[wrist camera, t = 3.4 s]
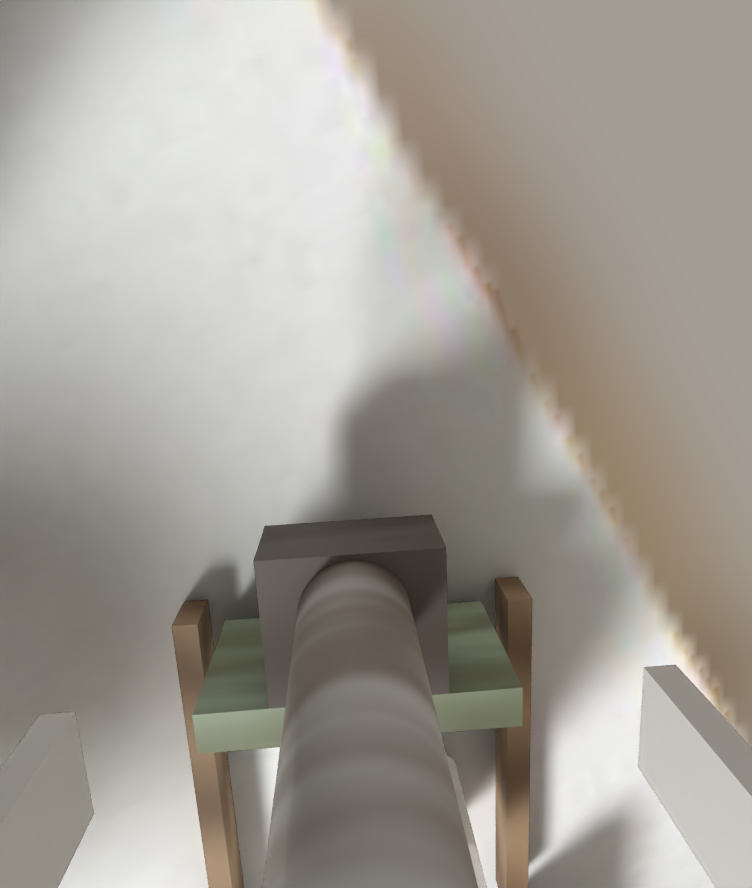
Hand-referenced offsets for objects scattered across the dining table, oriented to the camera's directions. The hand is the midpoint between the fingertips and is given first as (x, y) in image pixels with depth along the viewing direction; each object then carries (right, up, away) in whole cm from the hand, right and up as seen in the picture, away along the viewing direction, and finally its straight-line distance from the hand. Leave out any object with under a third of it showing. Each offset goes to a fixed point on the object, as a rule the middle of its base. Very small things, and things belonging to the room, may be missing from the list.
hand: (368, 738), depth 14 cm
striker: (-1, +2, +11) cm, 12 cm away
